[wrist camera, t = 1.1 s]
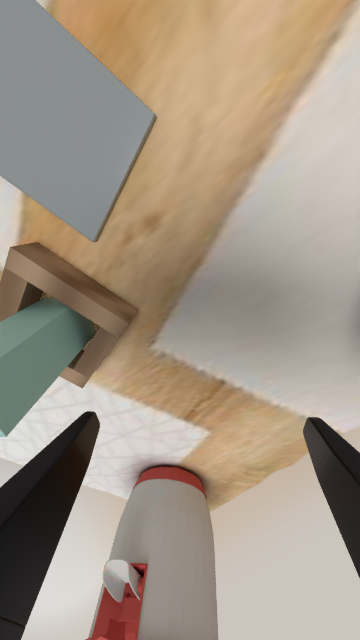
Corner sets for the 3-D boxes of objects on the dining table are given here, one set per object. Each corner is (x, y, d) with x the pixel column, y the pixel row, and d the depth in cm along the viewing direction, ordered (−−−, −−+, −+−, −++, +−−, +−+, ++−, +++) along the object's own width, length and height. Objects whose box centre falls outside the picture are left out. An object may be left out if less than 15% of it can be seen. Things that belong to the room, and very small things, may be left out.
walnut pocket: (137, 309, 21) (128, 323, 18) (94, 370, 26) (82, 388, 23) (37, 242, 18) (10, 247, 16) (9, 322, 23) (-15, 336, 21)
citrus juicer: (180, 443, 32) (155, 732, 14) (227, 493, 38) (251, 735, 20) (107, 463, 36) (21, 695, 19) (159, 504, 43) (132, 707, 25)
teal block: (84, 296, 21) (-35, 383, 10) (95, 333, 23) (6, 436, 12) (44, 298, 21) (-109, 381, 11) (58, 333, 23) (-58, 433, 13)
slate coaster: (156, 117, 14) (154, 113, 13) (96, 241, 18) (93, 242, 17) (13, -19, 12) (4, -30, 11) (-17, 159, 16) (-25, 158, 15)
